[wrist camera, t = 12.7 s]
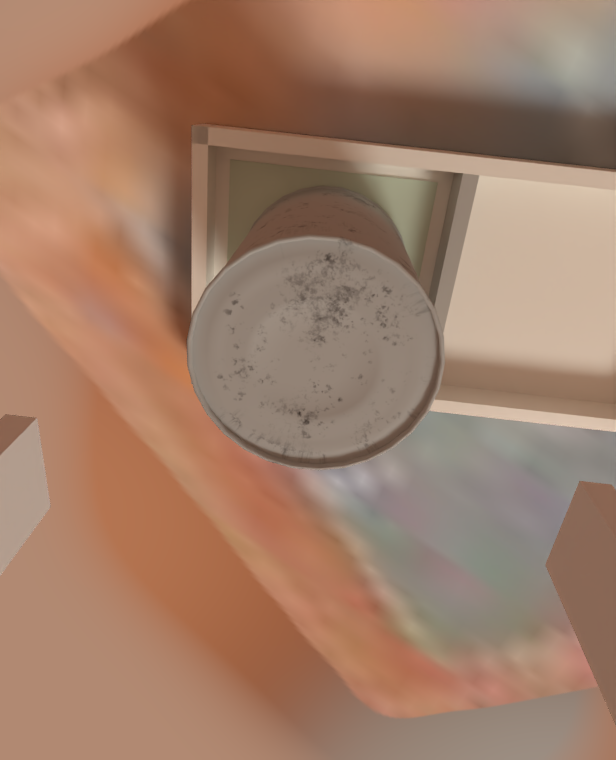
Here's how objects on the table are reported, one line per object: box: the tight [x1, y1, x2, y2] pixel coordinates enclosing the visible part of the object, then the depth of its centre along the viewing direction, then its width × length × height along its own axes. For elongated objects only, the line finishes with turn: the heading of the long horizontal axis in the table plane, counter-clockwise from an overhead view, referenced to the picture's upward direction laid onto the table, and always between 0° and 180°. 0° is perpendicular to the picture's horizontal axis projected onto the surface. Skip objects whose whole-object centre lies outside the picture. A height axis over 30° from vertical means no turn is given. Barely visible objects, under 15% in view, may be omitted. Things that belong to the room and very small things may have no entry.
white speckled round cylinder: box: [187, 186, 445, 470], centre depth 25 cm, size 10×10×12 cm
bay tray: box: [192, 124, 616, 432], centre depth 30 cm, size 27×14×2 cm, turn 84°
